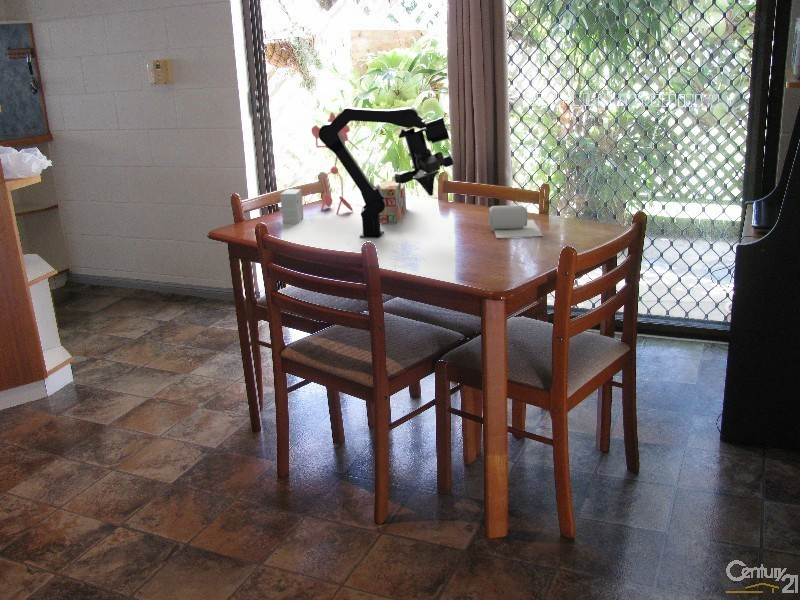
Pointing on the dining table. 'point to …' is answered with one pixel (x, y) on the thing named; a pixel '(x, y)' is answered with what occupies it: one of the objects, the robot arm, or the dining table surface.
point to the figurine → (334, 170)
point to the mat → (519, 231)
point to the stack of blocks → (393, 202)
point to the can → (507, 217)
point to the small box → (291, 205)
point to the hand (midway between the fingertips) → (431, 195)
